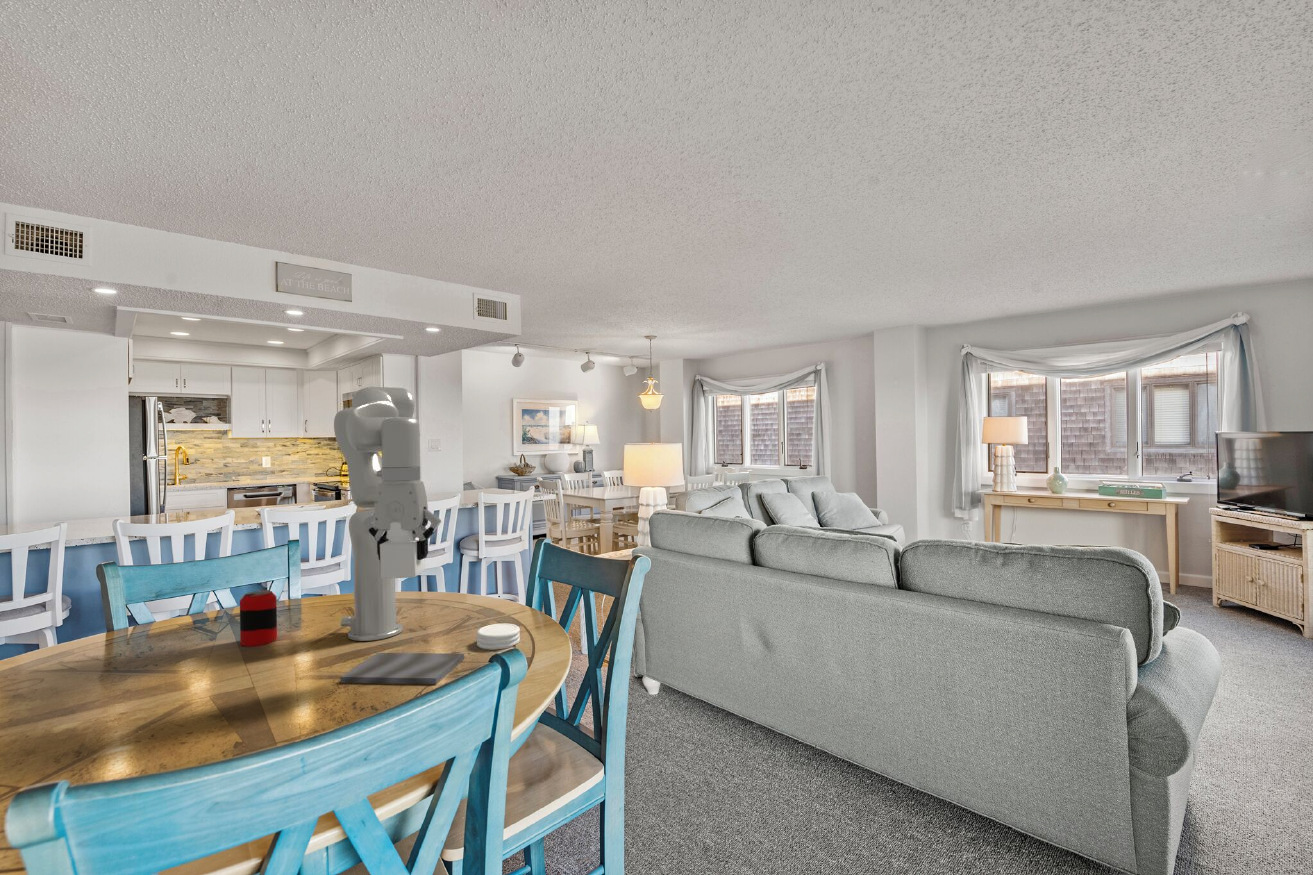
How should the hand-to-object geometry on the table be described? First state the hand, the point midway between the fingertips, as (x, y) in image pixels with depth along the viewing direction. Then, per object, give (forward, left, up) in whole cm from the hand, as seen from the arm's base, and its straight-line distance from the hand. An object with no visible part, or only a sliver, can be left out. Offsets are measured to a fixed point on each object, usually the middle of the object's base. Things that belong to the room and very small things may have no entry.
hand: (402, 558), depth 131 cm
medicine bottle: (0, 0, -4) cm, 4 cm away
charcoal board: (0, 0, -24) cm, 24 cm away
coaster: (+14, +18, -24) cm, 33 cm away
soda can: (-46, +17, -24) cm, 54 cm away
